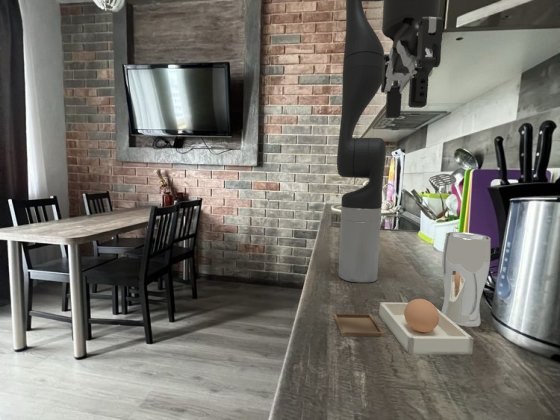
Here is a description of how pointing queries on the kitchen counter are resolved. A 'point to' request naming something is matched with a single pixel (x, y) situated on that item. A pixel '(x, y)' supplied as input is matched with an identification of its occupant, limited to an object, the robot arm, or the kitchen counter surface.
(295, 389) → the kitchen counter surface
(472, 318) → the beer glass
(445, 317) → the tray
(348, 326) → the holder
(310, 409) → the kitchen counter surface
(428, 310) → the egg
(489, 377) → the kitchen counter surface
